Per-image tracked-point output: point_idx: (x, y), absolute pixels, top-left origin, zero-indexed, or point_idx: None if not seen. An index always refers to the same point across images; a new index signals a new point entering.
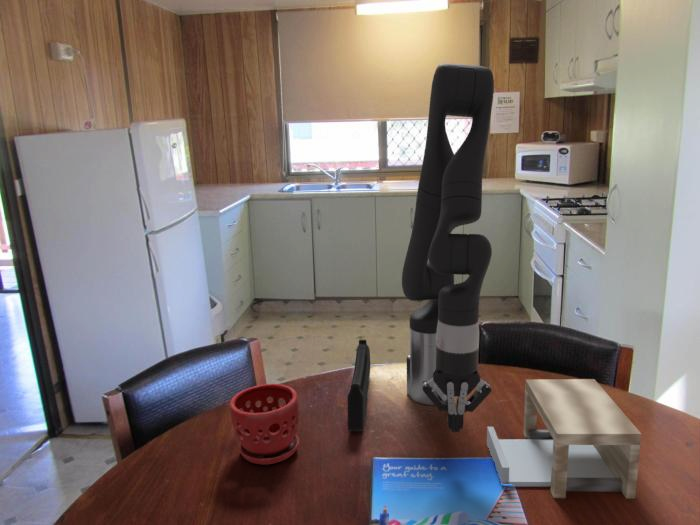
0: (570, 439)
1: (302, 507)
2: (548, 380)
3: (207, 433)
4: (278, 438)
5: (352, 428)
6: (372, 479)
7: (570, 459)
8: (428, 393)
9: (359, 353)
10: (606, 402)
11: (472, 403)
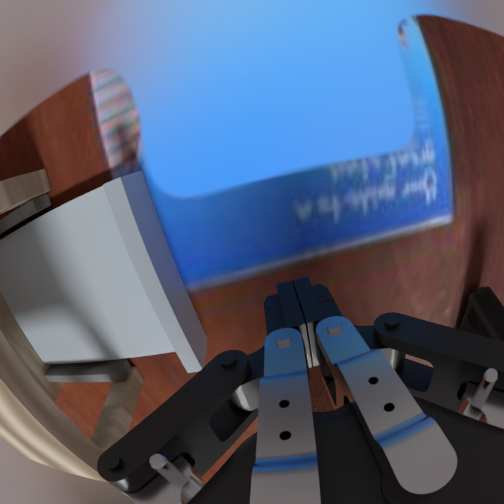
0: None
1: (500, 57)
2: (71, 471)
3: None
4: None
5: (485, 290)
6: (446, 133)
7: (41, 303)
8: (499, 352)
9: None
10: None
11: (218, 389)
